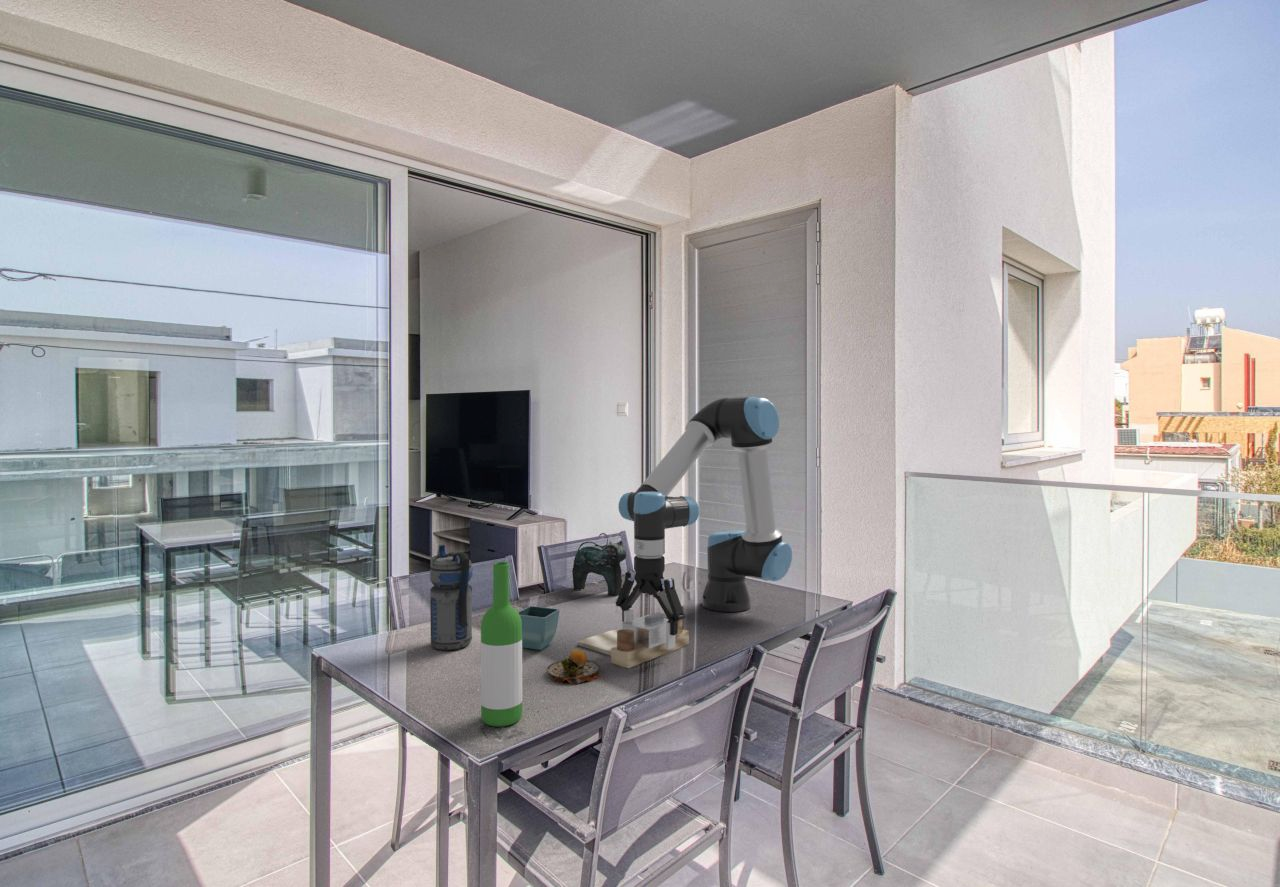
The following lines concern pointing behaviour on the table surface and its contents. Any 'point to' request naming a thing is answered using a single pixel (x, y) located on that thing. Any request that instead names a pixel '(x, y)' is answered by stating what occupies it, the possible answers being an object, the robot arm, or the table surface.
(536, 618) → the flower pot
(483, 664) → the wine bottle
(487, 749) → the table surface
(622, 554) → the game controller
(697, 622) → the table surface
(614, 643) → the ash board
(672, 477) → the robot arm
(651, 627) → the white block with stub
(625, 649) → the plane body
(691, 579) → the table surface
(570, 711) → the table surface
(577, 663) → the salad plate
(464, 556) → the beverage bottle
